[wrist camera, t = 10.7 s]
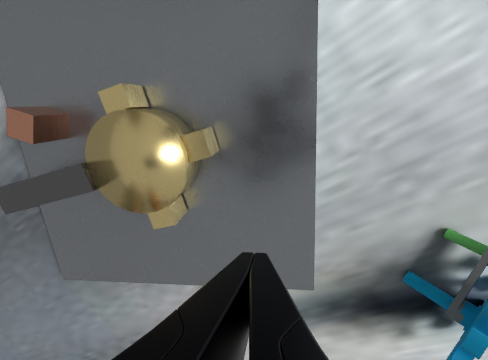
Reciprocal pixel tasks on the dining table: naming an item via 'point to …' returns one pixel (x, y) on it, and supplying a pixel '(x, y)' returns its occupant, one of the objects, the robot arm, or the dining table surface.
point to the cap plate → (187, 110)
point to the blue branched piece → (461, 303)
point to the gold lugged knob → (126, 161)
